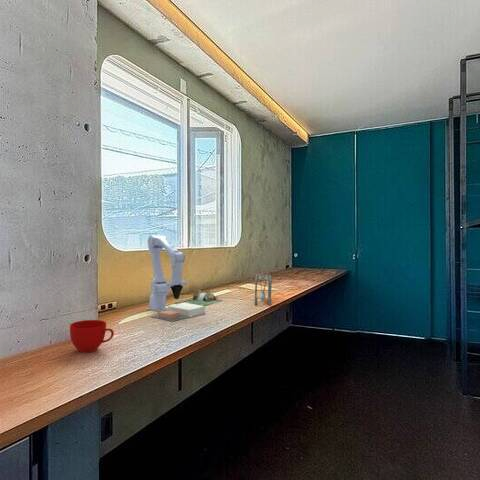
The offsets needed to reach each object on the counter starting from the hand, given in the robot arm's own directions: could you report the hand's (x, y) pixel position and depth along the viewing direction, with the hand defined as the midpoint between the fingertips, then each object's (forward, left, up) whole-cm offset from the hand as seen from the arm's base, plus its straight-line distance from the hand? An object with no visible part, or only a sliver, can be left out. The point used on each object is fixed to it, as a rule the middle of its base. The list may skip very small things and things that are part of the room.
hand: (176, 298), depth 203 cm
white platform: (0, +8, -9) cm, 13 cm away
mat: (0, -5, -9) cm, 11 cm away
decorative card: (-15, +41, -10) cm, 45 cm away
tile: (0, -6, -8) cm, 10 cm away
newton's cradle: (+16, +69, -10) cm, 72 cm away
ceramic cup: (+15, -64, -10) cm, 66 cm away
